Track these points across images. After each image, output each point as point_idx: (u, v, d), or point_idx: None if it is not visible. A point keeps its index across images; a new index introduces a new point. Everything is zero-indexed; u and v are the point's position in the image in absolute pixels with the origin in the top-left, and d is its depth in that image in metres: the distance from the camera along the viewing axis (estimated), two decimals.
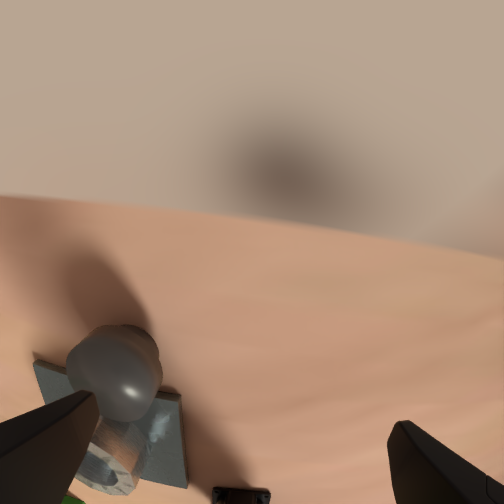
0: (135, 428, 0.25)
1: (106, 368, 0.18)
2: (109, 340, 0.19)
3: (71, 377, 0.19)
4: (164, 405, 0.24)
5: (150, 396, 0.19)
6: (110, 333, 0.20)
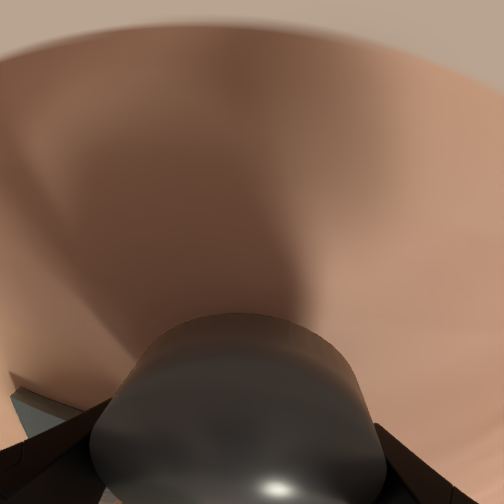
0: None
1: (258, 458, 0.05)
2: (266, 362, 0.06)
3: (108, 473, 0.06)
4: None
5: None
6: (251, 336, 0.06)
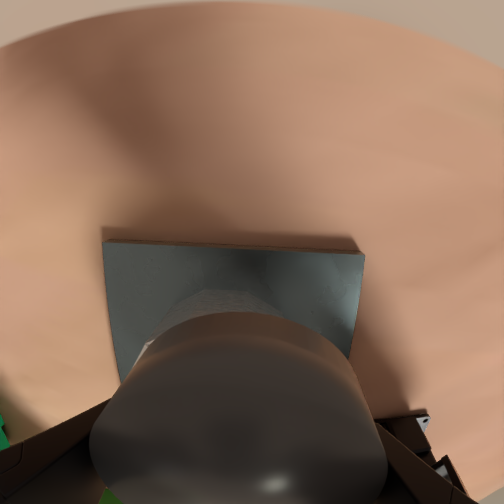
0: None
1: (258, 457, 0.05)
2: (267, 361, 0.05)
3: (107, 471, 0.06)
4: (343, 266, 0.18)
5: None
6: (252, 335, 0.06)
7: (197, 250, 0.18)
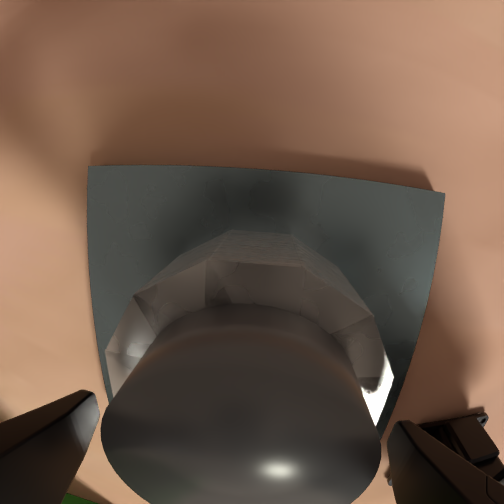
0: None
1: (260, 436, 0.06)
2: (268, 345, 0.06)
3: (117, 456, 0.06)
4: (420, 206, 0.12)
5: None
6: (253, 323, 0.07)
7: (222, 172, 0.12)
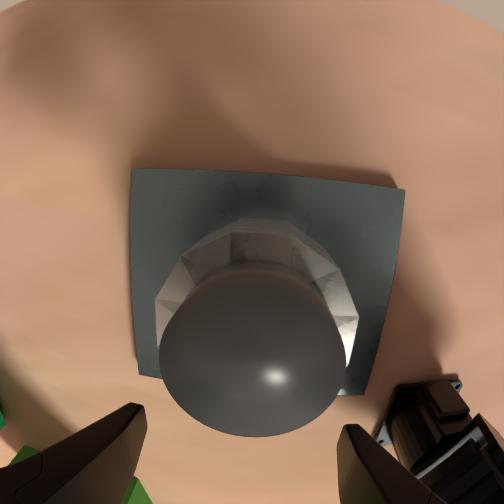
0: None
1: (267, 334, 0.10)
2: (271, 276, 0.11)
3: (168, 364, 0.11)
4: (385, 199, 0.17)
5: None
6: (262, 268, 0.12)
7: (236, 176, 0.17)
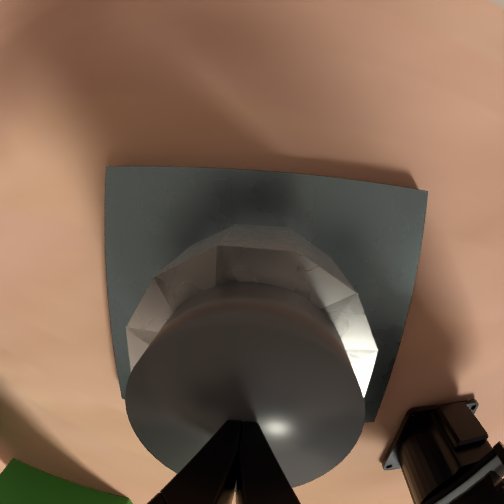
0: None
1: (262, 387, 0.07)
2: (268, 310, 0.08)
3: (138, 416, 0.08)
4: (405, 202, 0.14)
5: (358, 433, 0.08)
6: (256, 296, 0.09)
7: (227, 173, 0.14)
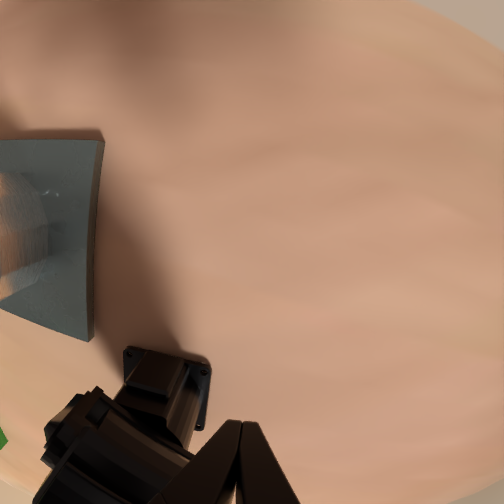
0: (38, 201, 0.18)
1: None
2: None
3: None
4: (80, 151, 0.17)
5: None
6: None
7: (2, 143, 0.17)
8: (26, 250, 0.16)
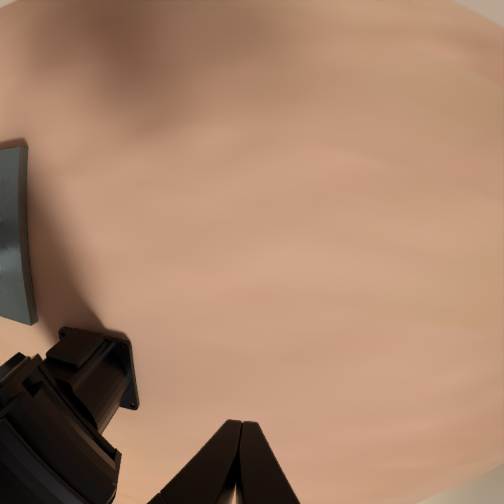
0: None
1: None
2: None
3: None
4: (9, 158, 0.18)
5: None
6: None
7: None
8: None
